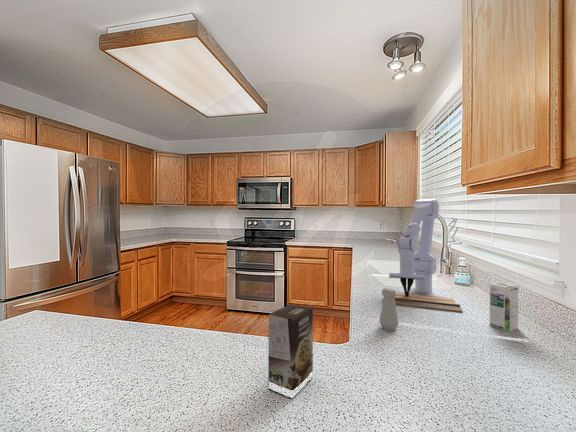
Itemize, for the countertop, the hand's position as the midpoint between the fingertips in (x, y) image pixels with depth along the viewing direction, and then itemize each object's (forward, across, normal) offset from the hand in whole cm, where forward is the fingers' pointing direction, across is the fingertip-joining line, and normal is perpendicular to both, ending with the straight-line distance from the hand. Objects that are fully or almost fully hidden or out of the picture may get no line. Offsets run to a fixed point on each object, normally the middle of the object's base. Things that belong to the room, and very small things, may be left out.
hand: (406, 295), depth 125 cm
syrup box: (+2, +29, -23) cm, 37 cm away
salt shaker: (+2, -5, -37) cm, 37 cm away
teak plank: (+2, +5, -1) cm, 5 cm away
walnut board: (+2, +5, -10) cm, 11 cm away
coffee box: (+2, -23, -77) cm, 80 cm away
